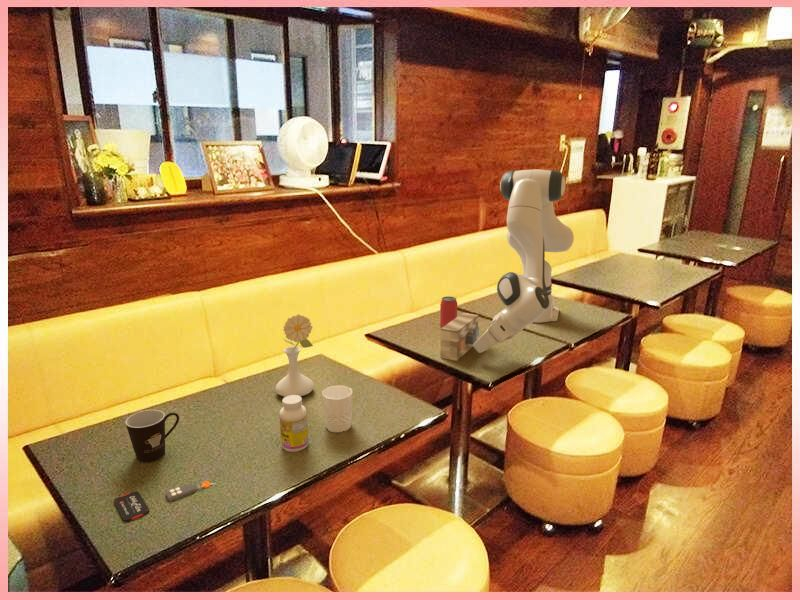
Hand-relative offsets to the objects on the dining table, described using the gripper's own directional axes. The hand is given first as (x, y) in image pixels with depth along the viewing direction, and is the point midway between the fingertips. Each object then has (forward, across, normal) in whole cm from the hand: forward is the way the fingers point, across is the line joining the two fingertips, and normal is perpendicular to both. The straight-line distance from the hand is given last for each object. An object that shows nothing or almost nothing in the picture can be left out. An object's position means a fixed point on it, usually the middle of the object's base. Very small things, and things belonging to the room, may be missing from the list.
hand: (476, 347), depth 187 cm
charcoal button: (+5, -6, -2) cm, 8 cm away
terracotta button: (+6, 0, -4) cm, 7 cm away
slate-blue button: (+6, -13, -4) cm, 15 cm away
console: (+10, -6, -3) cm, 12 cm away
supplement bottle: (+18, +70, -10) cm, 73 cm away
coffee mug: (+37, +90, -29) cm, 101 cm away
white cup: (+15, +58, -8) cm, 60 cm away
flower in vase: (+30, +48, -23) cm, 61 cm away
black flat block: (+28, +106, -21) cm, 111 cm away
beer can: (+19, -26, -12) cm, 34 cm away
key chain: (+24, +94, -15) cm, 98 cm away
